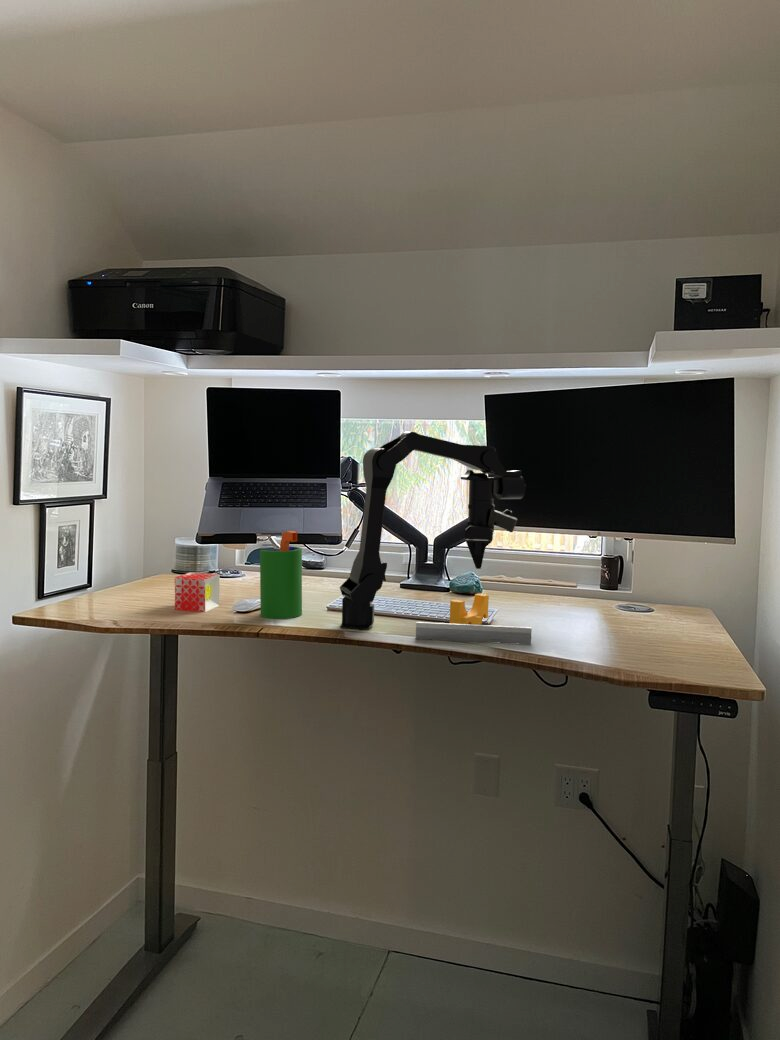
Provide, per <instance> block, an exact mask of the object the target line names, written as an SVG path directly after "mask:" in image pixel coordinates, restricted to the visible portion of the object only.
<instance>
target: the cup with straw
mask: <svg viewBox="0 0 780 1040" xmlns="http://www.w3.org/2000/svg"><path fill="white" fill-rule="evenodd" d="M292 542H293V543H294V542H298V532H297V531H294V530H287V531H284V532H283V533H282V535H281V539H280V546H279V550H265V549H260V550H259V572H260V573H259V574H260V575H259V578H260V582H259V583H260V584H259V586H260V587H259V589H260V591H259V592H260V593H259V594H260V596H259V597H260V603H259V604H260V617H262V618H266V619H277V620H278V619H281V620H282V619H293V618H296V617H300V616H302V615H303V548H302V547H299V546H294V545H290V543H292Z"/></svg>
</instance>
